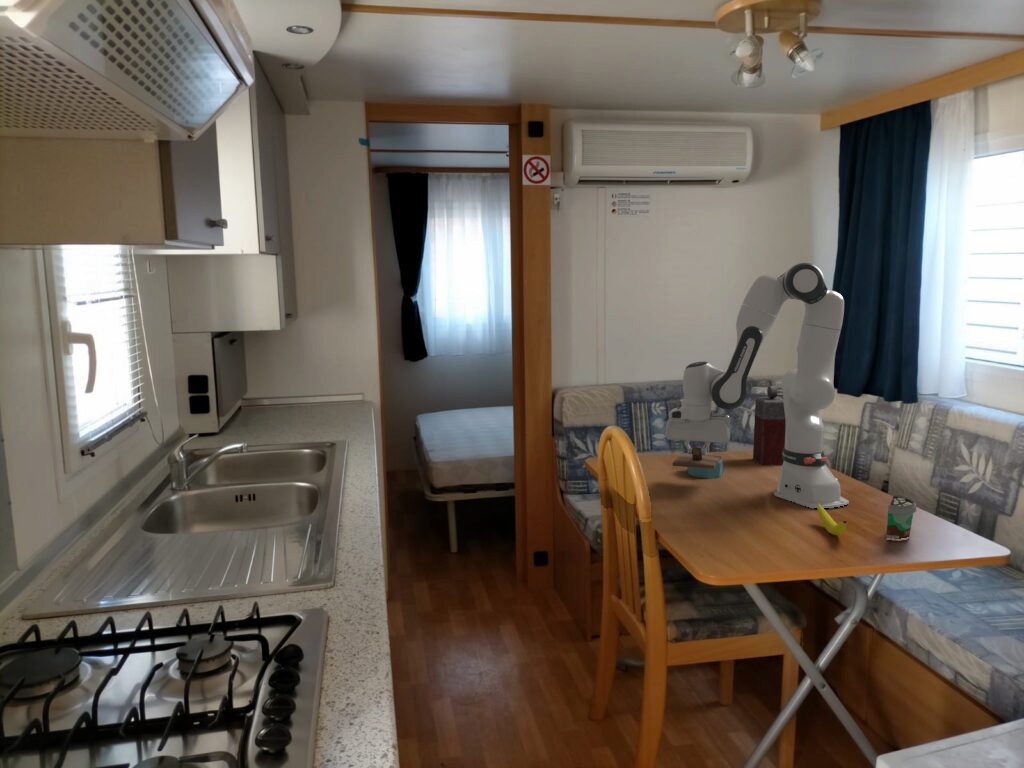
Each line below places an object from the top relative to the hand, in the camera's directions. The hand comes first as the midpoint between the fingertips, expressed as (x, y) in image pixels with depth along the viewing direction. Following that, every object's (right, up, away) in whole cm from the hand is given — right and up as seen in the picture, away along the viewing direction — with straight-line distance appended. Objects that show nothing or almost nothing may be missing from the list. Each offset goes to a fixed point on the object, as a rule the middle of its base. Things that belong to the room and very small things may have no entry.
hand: (697, 454), depth 244 cm
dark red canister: (+35, -6, +31) cm, 47 cm away
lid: (0, -3, 0) cm, 3 cm away
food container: (+43, -18, -44) cm, 64 cm away
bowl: (+7, -8, +16) cm, 19 cm away
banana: (+26, -18, -40) cm, 51 cm away
